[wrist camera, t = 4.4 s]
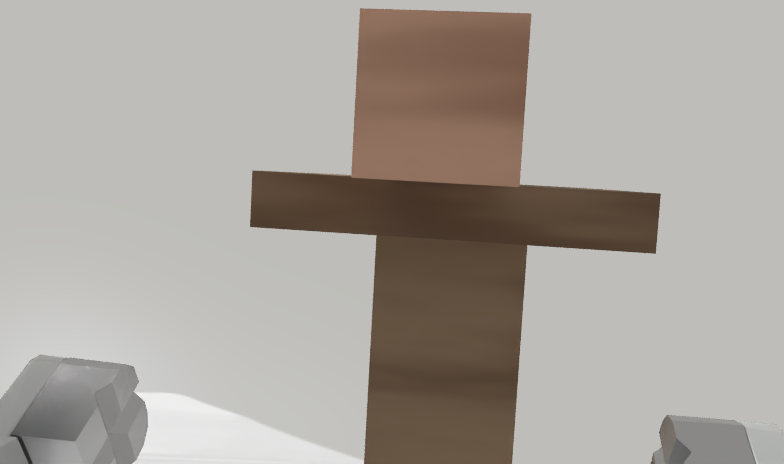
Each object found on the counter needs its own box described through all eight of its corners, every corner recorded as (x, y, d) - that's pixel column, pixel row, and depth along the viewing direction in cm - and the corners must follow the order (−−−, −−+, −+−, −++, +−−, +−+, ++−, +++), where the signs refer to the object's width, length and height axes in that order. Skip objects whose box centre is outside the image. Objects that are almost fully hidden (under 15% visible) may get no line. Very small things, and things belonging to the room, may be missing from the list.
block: (419, 179, 37) (424, 97, 37) (501, 183, 36) (506, 100, 36) (351, 178, 18) (359, 8, 18) (519, 187, 18) (530, 13, 17)
